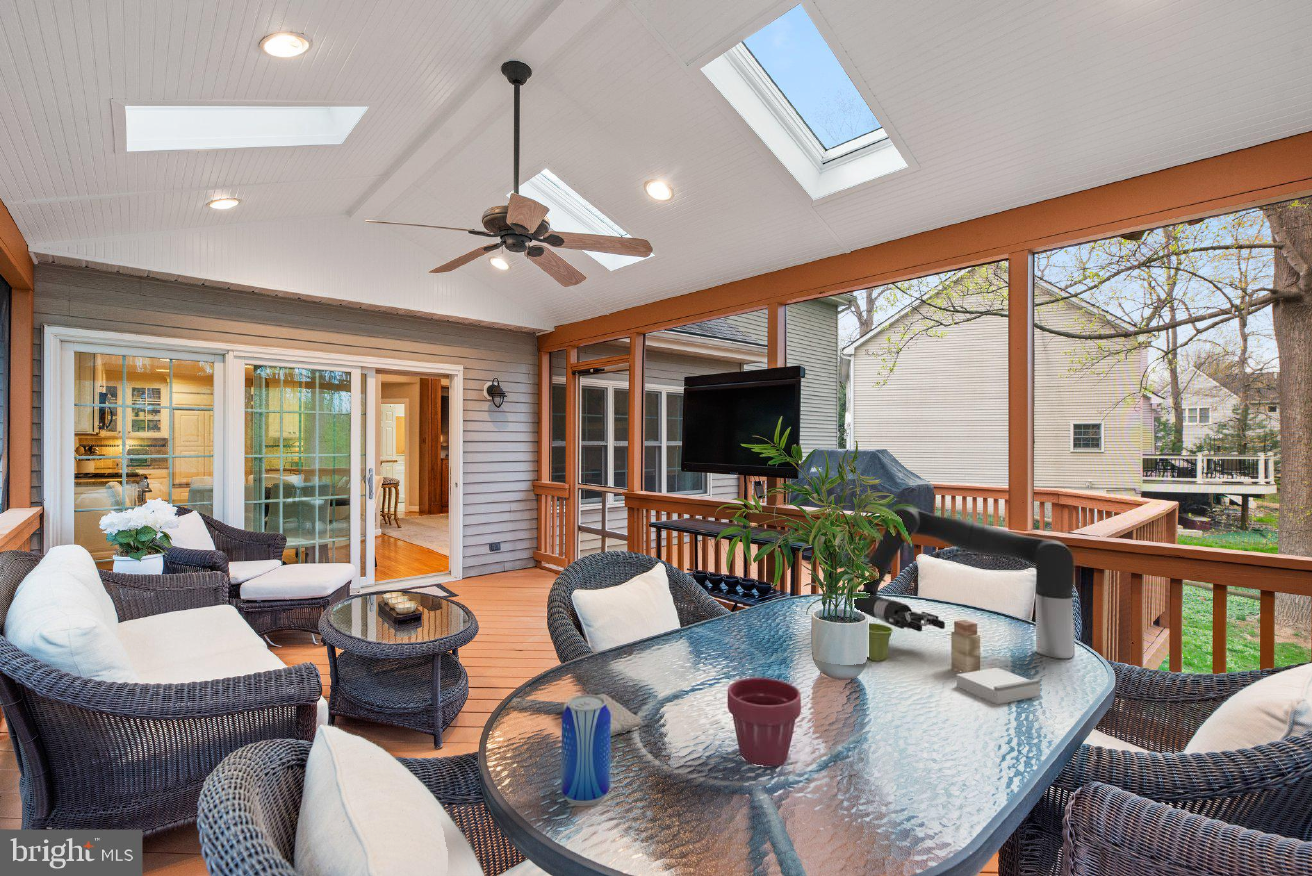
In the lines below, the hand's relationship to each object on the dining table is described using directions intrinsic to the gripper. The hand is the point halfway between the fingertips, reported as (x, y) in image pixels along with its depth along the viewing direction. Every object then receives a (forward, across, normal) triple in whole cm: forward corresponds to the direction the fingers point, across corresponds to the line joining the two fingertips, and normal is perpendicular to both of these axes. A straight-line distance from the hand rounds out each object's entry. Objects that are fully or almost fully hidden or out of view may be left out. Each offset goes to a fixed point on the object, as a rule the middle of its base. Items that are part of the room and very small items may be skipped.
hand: (932, 626), depth 182 cm
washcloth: (+6, -102, +11) cm, 103 cm away
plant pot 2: (-6, -16, +9) cm, 19 cm away
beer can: (+34, -113, +10) cm, 118 cm away
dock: (+25, -5, +8) cm, 27 cm away
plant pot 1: (+34, -77, +10) cm, 84 cm away
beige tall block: (+12, 0, +9) cm, 14 cm away
